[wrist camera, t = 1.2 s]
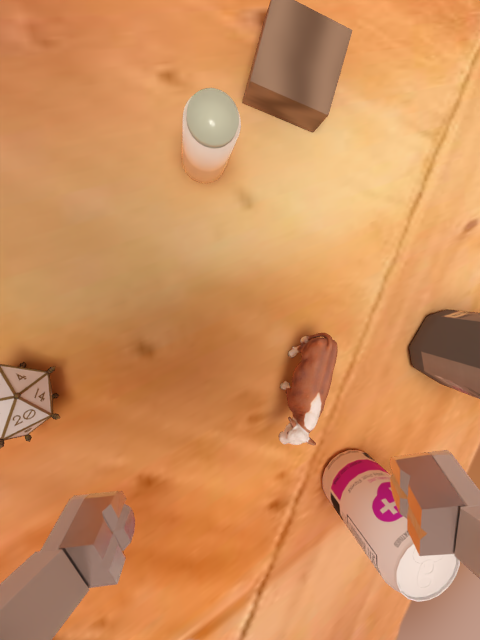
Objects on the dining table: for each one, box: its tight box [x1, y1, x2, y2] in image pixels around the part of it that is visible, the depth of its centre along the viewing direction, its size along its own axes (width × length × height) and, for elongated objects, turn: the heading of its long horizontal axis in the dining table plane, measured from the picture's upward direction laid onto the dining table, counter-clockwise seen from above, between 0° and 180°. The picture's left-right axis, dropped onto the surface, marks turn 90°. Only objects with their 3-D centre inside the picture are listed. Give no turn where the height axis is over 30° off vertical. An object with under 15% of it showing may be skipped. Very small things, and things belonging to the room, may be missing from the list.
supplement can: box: [322, 450, 460, 601], centre depth 37 cm, size 8×8×15 cm
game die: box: [0, 362, 60, 448], centre depth 32 cm, size 9×8×10 cm
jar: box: [182, 88, 241, 183], centre depth 31 cm, size 5×5×10 cm
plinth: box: [242, 0, 352, 132], centre depth 35 cm, size 9×9×4 cm
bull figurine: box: [279, 333, 337, 445], centre depth 37 cm, size 4×13×8 cm, turn 159°
